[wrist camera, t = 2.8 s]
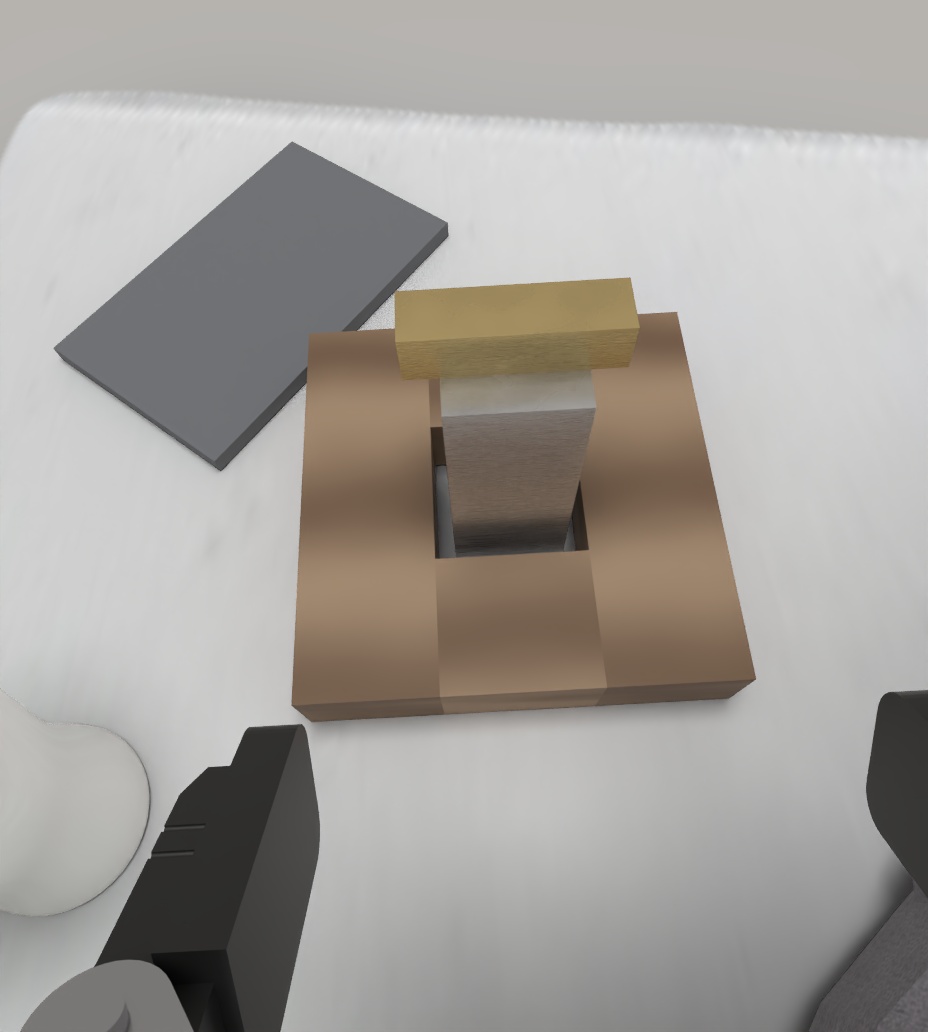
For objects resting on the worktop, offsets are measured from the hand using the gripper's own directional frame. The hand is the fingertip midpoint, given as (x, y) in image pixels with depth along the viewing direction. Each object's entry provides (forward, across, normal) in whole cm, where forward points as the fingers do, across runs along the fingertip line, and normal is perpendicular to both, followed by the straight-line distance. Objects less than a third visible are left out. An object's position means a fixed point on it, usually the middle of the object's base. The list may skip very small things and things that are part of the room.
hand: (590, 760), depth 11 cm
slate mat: (+28, +11, -5) cm, 31 cm away
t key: (+20, 0, +4) cm, 20 cm away
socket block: (+20, 0, +4) cm, 20 cm away
